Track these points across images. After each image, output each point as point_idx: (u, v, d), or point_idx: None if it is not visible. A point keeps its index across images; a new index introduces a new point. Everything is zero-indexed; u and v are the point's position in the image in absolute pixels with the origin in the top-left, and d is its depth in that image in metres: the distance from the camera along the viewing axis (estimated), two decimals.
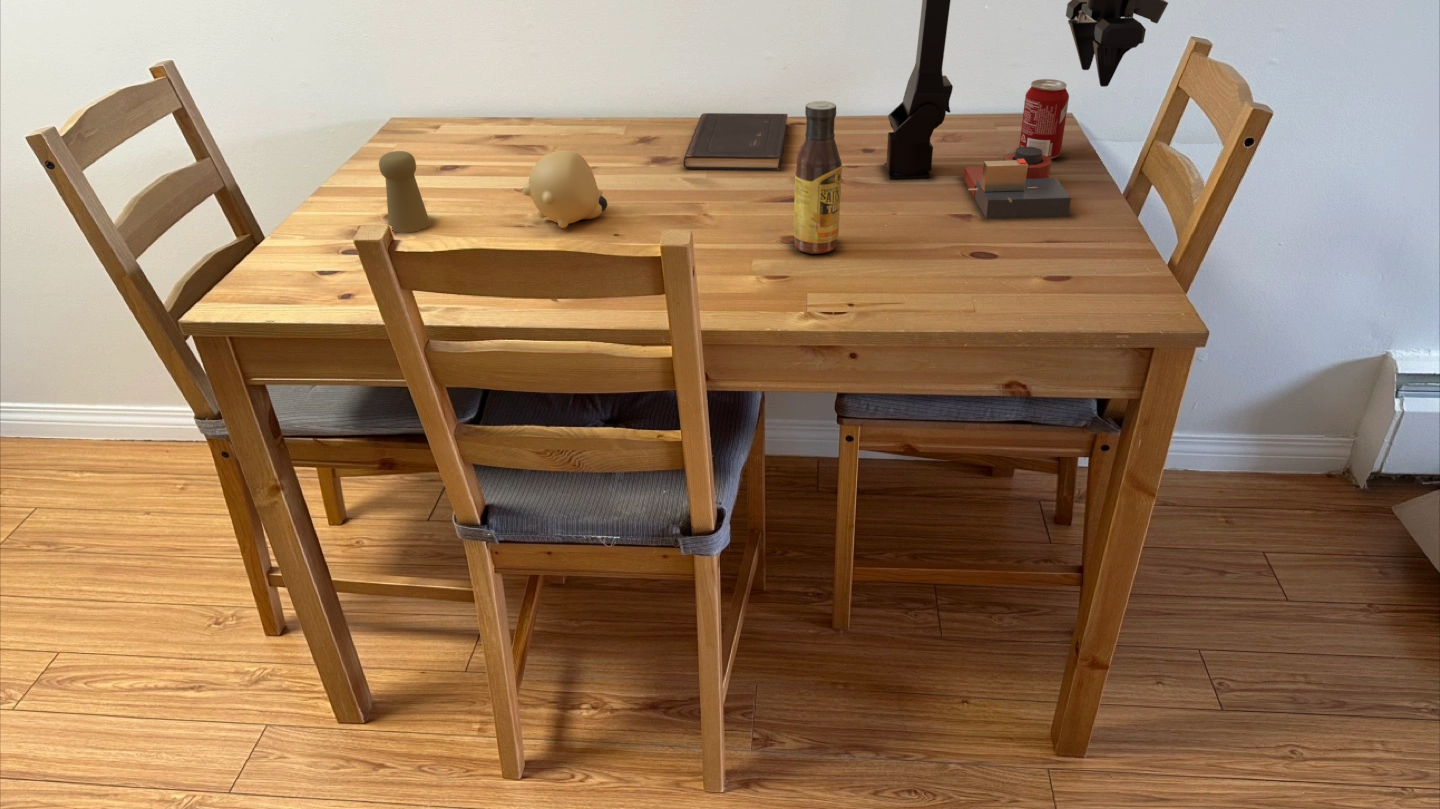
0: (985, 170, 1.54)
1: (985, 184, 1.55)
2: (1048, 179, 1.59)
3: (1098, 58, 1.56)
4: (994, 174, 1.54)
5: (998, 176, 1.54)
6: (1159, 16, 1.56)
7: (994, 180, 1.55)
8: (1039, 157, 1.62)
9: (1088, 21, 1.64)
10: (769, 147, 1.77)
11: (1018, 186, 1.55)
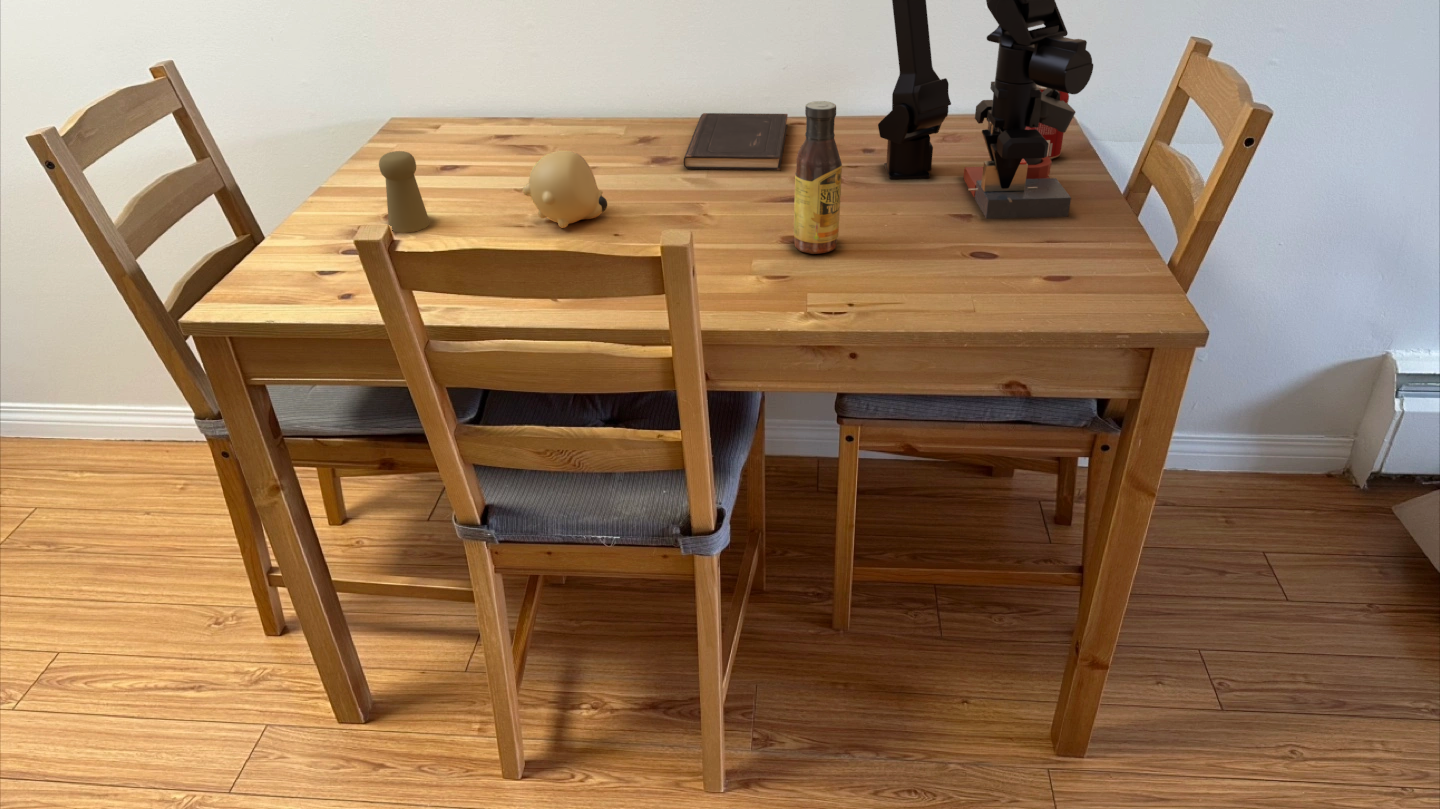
0: (985, 170, 1.54)
1: (985, 184, 1.55)
2: (1048, 179, 1.59)
3: (996, 162, 1.51)
4: (994, 174, 1.54)
5: None
6: (1066, 125, 1.49)
7: (994, 180, 1.55)
8: None
9: None
10: (770, 147, 1.77)
11: (1018, 186, 1.55)
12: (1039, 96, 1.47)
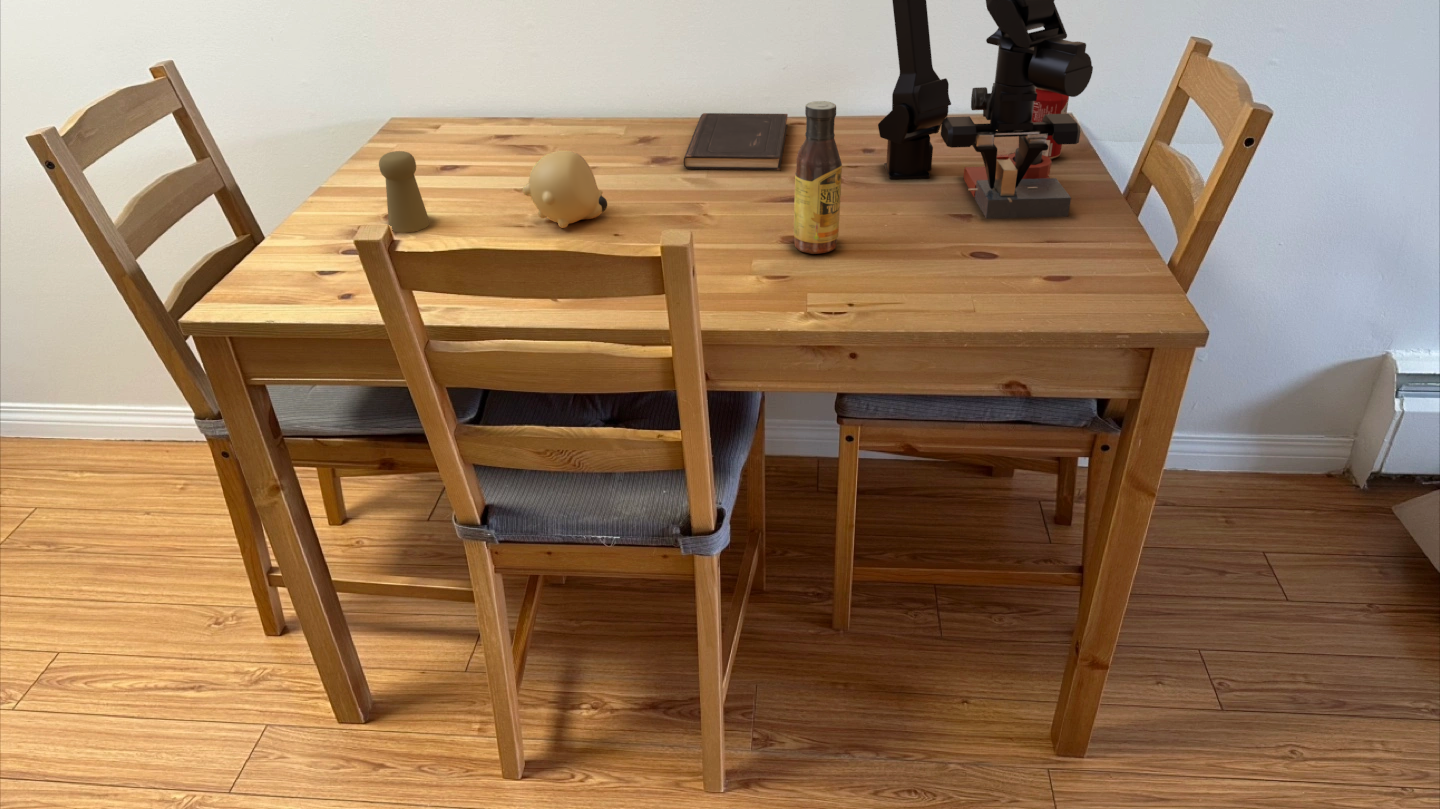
0: (1013, 175, 1.52)
1: None
2: (1048, 179, 1.59)
3: (1032, 161, 1.52)
4: None
5: None
6: None
7: None
8: (1039, 157, 1.62)
9: None
10: (770, 147, 1.77)
11: None
12: None
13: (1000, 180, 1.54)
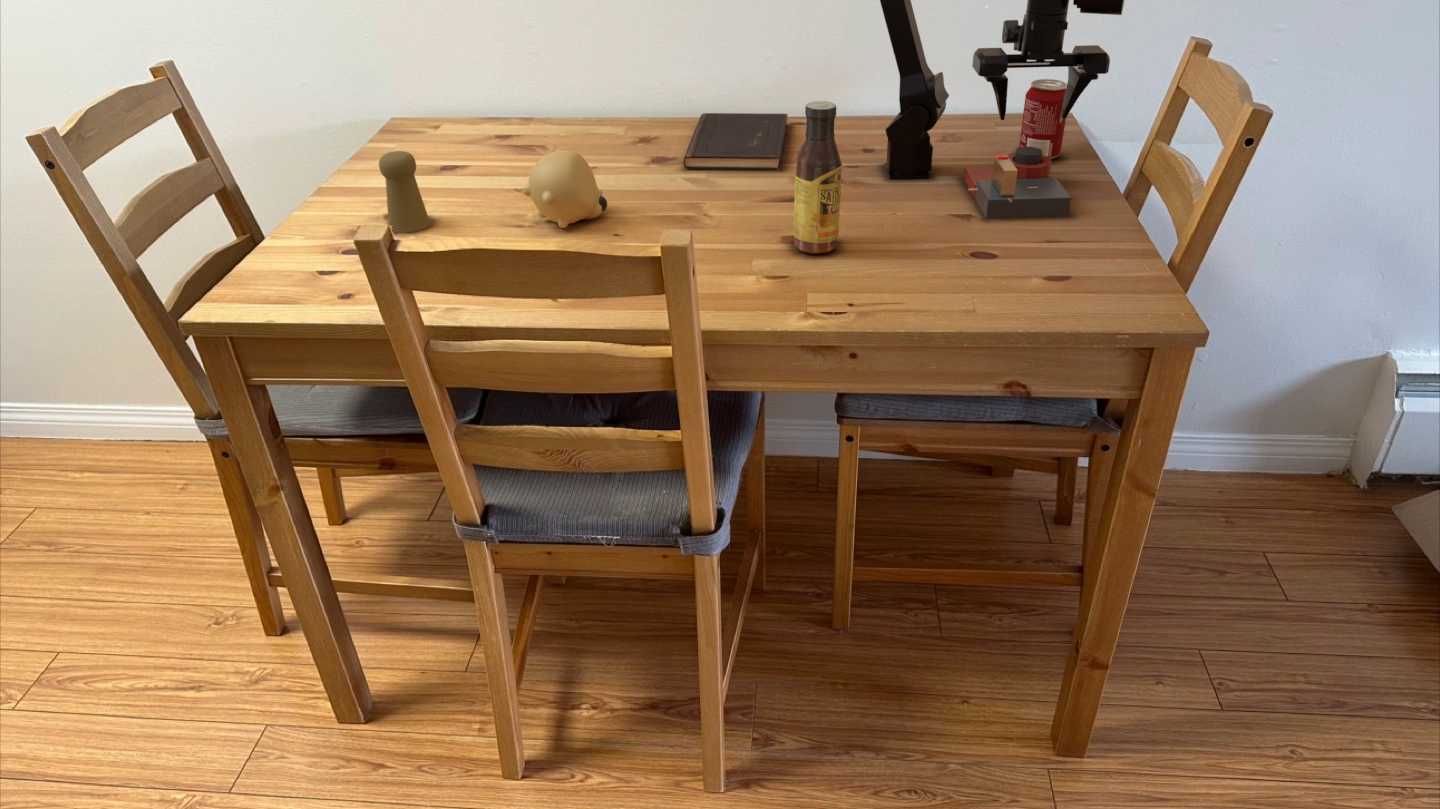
0: (1013, 175, 1.52)
1: None
2: (1048, 179, 1.59)
3: (1082, 91, 1.55)
4: None
5: None
6: None
7: None
8: (1039, 157, 1.62)
9: None
10: (770, 147, 1.77)
11: None
12: None
13: (1000, 180, 1.54)
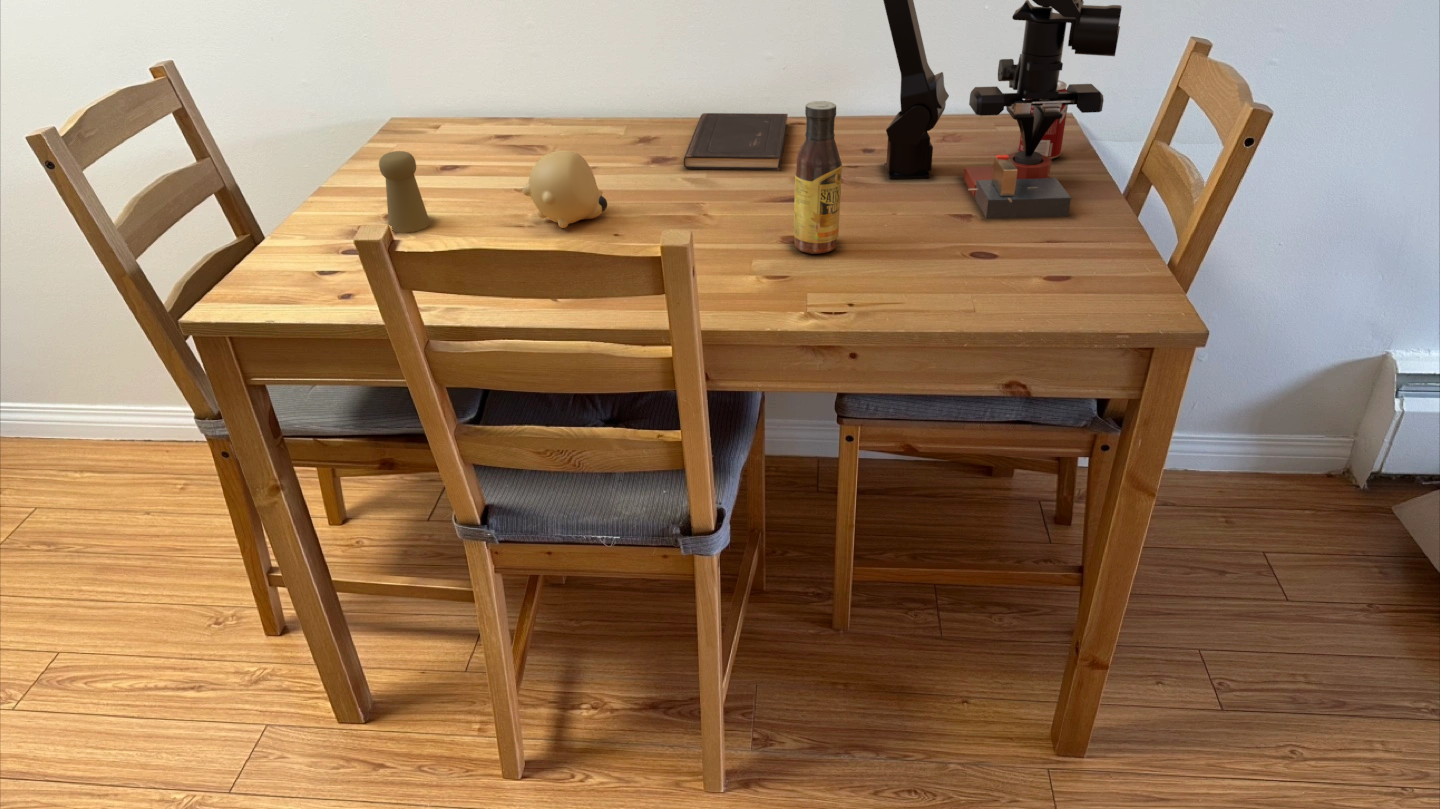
0: (1013, 175, 1.52)
1: None
2: (1048, 179, 1.59)
3: (1047, 129, 1.59)
4: None
5: None
6: None
7: None
8: (1038, 161, 1.62)
9: None
10: (769, 147, 1.77)
11: None
12: None
13: (1000, 180, 1.54)
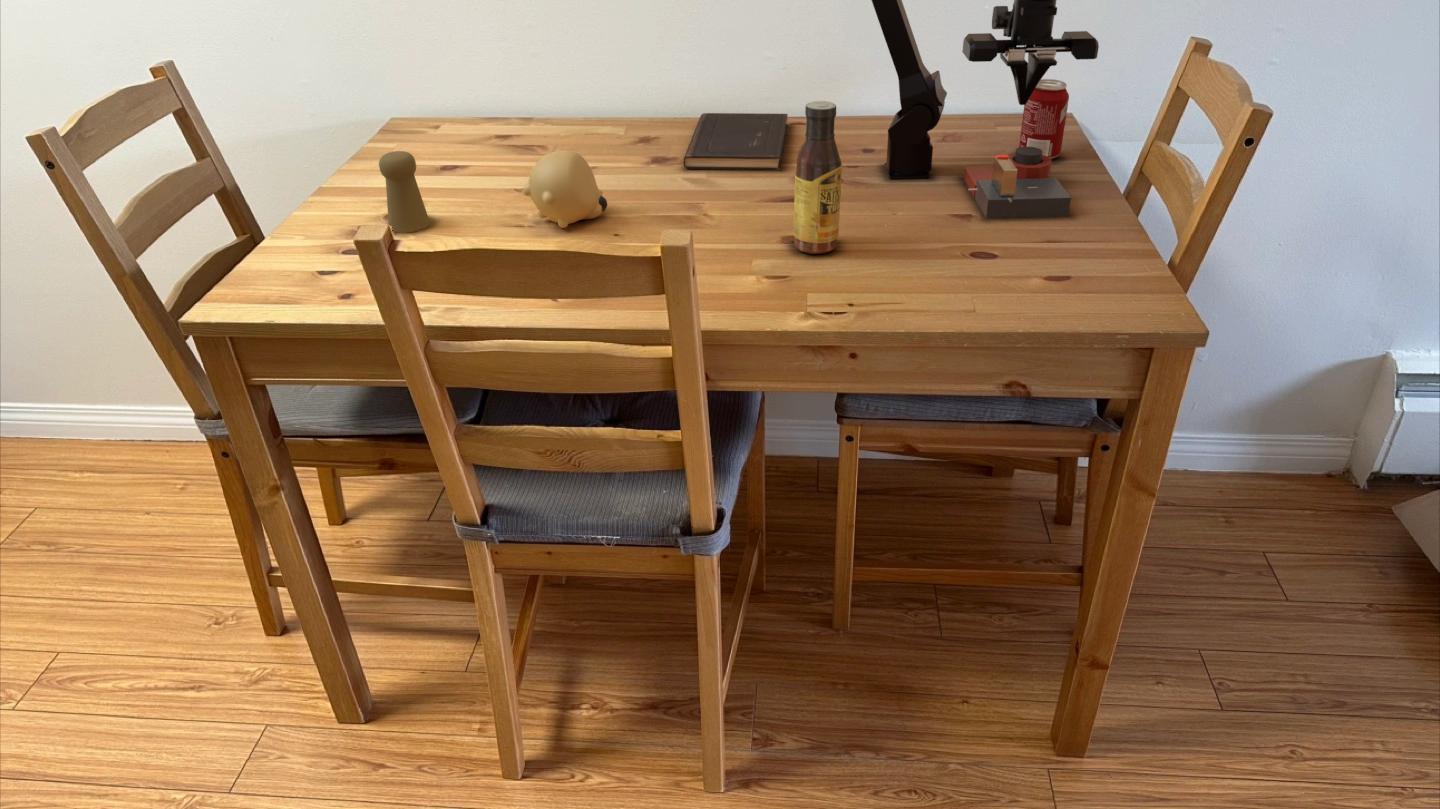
0: (1013, 175, 1.52)
1: None
2: (1048, 179, 1.59)
3: (1041, 77, 1.57)
4: None
5: None
6: None
7: None
8: (1039, 157, 1.62)
9: None
10: (770, 147, 1.77)
11: None
12: None
13: (1000, 180, 1.54)
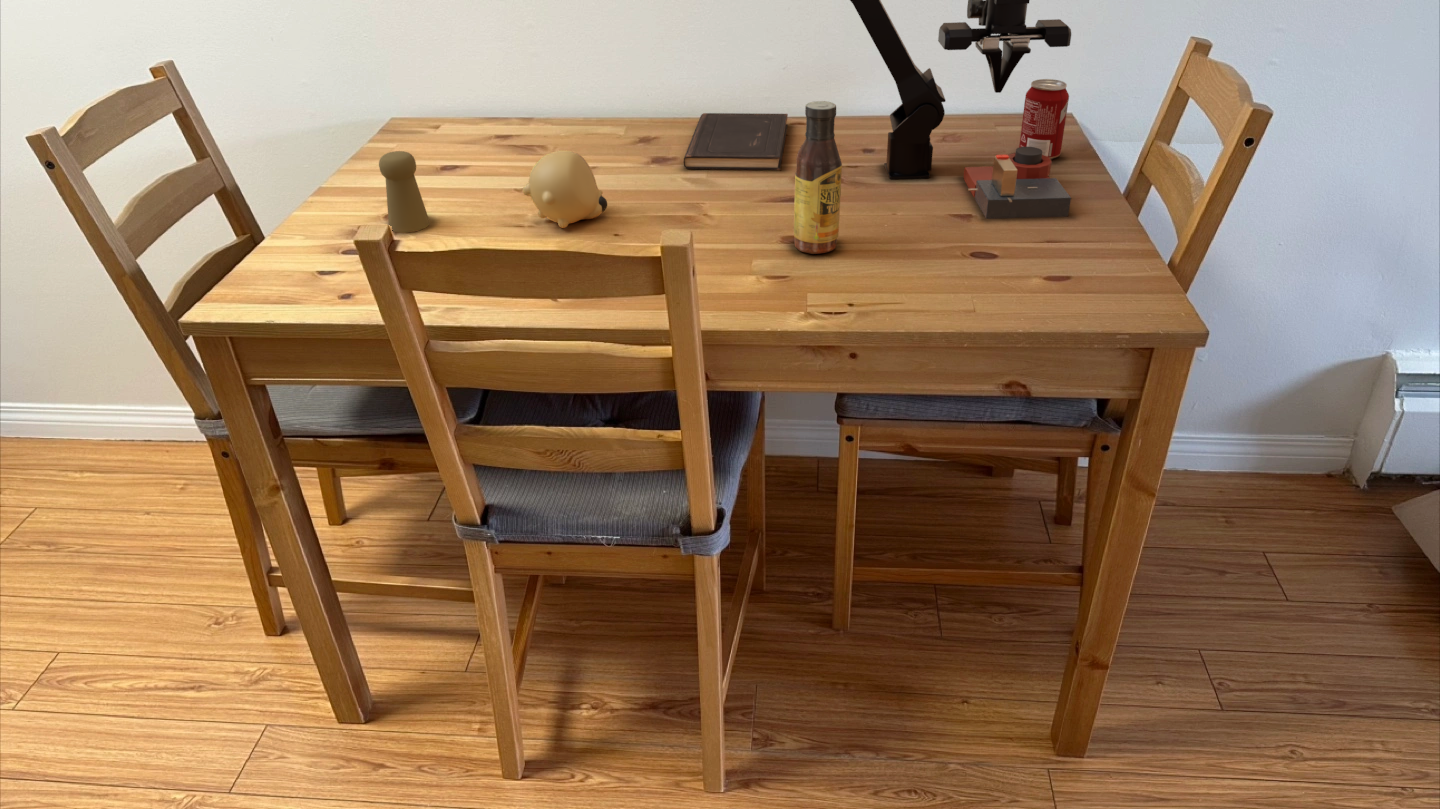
0: (1013, 175, 1.52)
1: None
2: (1048, 179, 1.59)
3: None
4: None
5: None
6: None
7: None
8: (1039, 157, 1.62)
9: None
10: (769, 147, 1.77)
11: None
12: None
13: (1000, 180, 1.54)
